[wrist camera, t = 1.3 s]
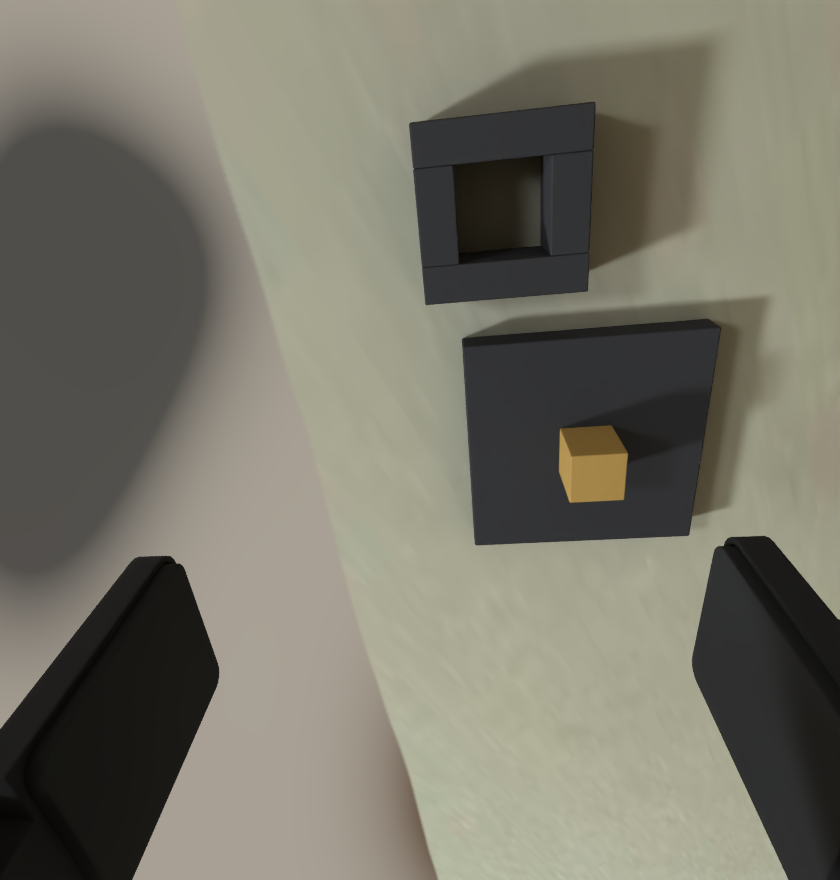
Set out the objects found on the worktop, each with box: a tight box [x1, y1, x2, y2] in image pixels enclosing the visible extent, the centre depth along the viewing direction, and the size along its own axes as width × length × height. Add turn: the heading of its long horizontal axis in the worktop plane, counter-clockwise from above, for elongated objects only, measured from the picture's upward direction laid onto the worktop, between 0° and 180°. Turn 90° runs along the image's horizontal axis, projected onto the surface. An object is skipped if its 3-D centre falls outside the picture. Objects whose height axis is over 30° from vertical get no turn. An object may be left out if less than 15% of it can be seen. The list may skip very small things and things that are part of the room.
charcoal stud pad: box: [462, 319, 721, 545], centre depth 28 cm, size 12×12×4 cm
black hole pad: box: [409, 102, 595, 305], centre depth 24 cm, size 7×7×3 cm
